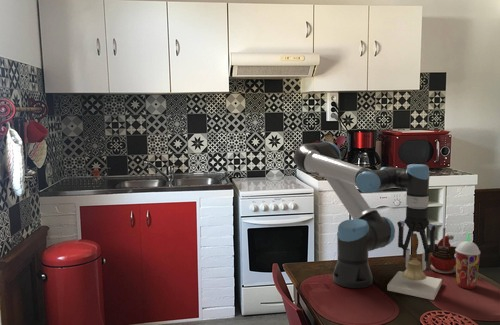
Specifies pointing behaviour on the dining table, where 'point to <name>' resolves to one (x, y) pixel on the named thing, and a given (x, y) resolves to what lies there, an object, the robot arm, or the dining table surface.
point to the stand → (415, 286)
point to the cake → (444, 255)
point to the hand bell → (414, 263)
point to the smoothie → (467, 264)
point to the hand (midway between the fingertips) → (415, 267)
